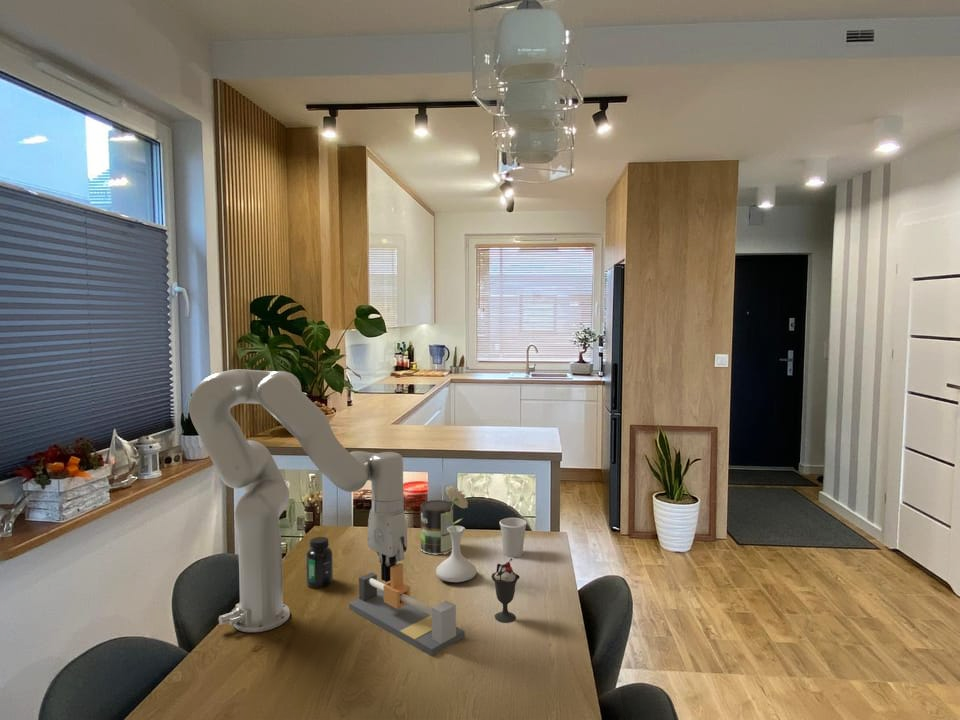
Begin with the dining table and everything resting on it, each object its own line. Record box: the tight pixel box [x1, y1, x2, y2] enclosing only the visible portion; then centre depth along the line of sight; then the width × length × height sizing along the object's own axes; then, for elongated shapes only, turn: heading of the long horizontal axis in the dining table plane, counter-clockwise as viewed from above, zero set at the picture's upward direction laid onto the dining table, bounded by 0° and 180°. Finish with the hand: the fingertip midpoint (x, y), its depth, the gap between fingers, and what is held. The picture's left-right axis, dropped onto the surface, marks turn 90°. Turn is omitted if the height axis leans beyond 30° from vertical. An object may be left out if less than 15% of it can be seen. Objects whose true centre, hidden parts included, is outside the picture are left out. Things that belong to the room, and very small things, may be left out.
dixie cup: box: [499, 517, 528, 559], centre depth 176 cm, size 8×8×10 cm
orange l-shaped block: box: [384, 562, 411, 609], centre depth 137 cm, size 5×4×9 cm
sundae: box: [491, 557, 521, 623], centre depth 138 cm, size 7×7×15 cm
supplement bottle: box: [305, 536, 334, 589], centre depth 156 cm, size 7×7×12 cm
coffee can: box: [419, 499, 454, 555], centre depth 180 cm, size 10×10×14 cm
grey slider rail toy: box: [348, 572, 466, 657], centre depth 136 cm, size 30×10×8 cm, turn 47°
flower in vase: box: [435, 485, 478, 583], centre depth 160 cm, size 13×11×25 cm
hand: (388, 579), depth 139 cm, fingers closed
